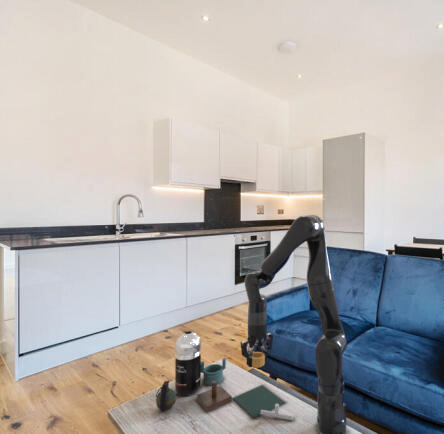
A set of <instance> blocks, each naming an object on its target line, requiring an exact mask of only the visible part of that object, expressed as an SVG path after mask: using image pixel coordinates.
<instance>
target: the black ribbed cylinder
mask: <svg viewBox="0 0 444 434" xmlns="http://www.w3.org/2000/svg"><path fill="white" fill-rule="evenodd" d="M174 359H175V361H174V363H175V364H174V365H175V366H174V367H175V368H174V369H175V370H174V374H175V375H174V376H175V377H174V391H175V393H176V395H179V396H181V397H182V396H183V397H185V396H190V395H193V394H196V393H197V392H198V391H199V390H200V388H201V385H202V381H201V379H202V373H201V362H202V340H201V338H200V337H199V335H198V334H196V333H195V332H193V331H191V330H186V331H185V332H184V333H183V334H182V335H180V336H179V337H178V339H177V340H176V342H175V346H174Z"/></svg>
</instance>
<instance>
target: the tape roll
mask: <svg viewBox="0 0 444 434" xmlns="http://www.w3.org/2000/svg"><path fill="white" fill-rule="evenodd" d="M265 364H266V361H265V354H264V353H263V352H262V351H255V352H253V355H252V367H251V368H254V369H258V368H261V367H263V366H265Z"/></svg>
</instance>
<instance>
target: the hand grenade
mask: <svg viewBox="0 0 444 434" xmlns="http://www.w3.org/2000/svg"><path fill="white" fill-rule="evenodd" d="M169 384H170V380H165V381H164V382H163V383H162V386H161V387H160V388H158V390H157V392H156V394H155V398H156V399H155V403H156V407H157V408H158V409H159V411H160V412H161V413H165V412H166V411H168V410H170V409H171V408H172V407H174V406H175V403H176V400H177V393H176V391H175V389H172V388H170V386H169Z"/></svg>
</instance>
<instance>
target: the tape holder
mask: <svg viewBox="0 0 444 434" xmlns="http://www.w3.org/2000/svg"><path fill="white" fill-rule="evenodd" d="M196 401H197V402H198V403H199V404H200V405H201V407H202V408H203V409H204V410H205V412H207V413H209V412H210V411H213V410H215V409H217V408H219V407H222V406H224V405H226V404H228V403H231V402H232V401H233V396H232V394H230V393H229V392H228V391H227V390H226V389H225V388H224V387H223V386H221V385H218V384H217V381H212V385H211V388H210V389H208V390H205V391H203V392H201V393H198V394H196Z"/></svg>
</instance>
